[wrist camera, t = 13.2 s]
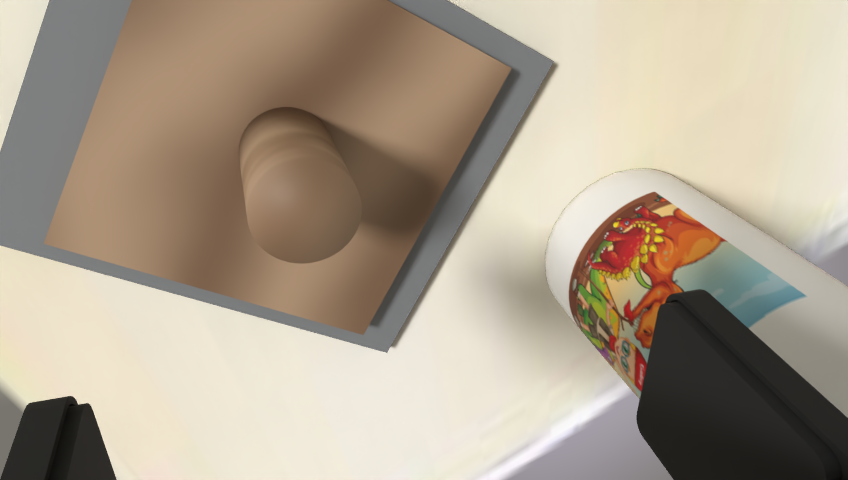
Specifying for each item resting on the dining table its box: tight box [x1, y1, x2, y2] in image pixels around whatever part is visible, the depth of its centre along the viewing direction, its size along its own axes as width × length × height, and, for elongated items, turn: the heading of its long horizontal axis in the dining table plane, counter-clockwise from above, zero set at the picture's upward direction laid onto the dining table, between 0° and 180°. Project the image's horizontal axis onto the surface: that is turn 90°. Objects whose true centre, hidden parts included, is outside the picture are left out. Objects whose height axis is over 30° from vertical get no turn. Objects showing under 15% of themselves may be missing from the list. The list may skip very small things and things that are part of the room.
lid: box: [43, 0, 512, 335], centre depth 21 cm, size 12×12×6 cm
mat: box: [0, 0, 554, 353], centre depth 24 cm, size 16×14×1 cm
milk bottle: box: [545, 169, 848, 418], centre depth 23 cm, size 8×8×20 cm
